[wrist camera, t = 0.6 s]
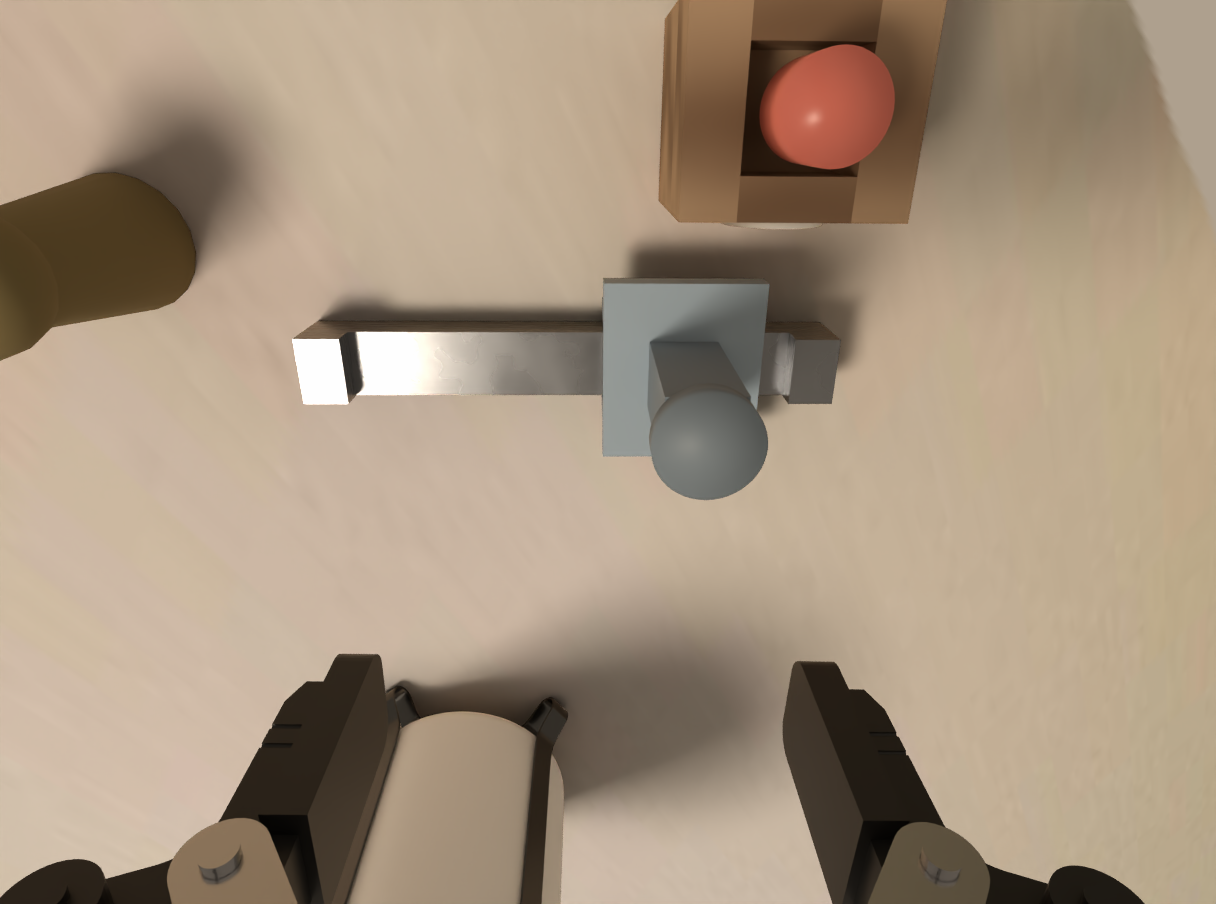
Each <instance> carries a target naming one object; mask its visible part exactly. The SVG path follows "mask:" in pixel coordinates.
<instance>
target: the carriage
mask: <svg viewBox="0 0 1216 904" xmlns="http://www.w3.org/2000/svg"><path fill="white" fill-rule="evenodd" d="M769 285H770V284H769V283H768V282H767V281H765V280H764V279H725V278H603V297H602V317H603V395H602V419H603V436H602V447H603V456H652V461H653V464H654V467H655V470H656V472H657V474H658V475H659V477H660V478H661V480H662V481H663V482H664V483H665V484H666V485H667V486H668V487H669V488H671V489H672V490H673V491H675V492H677V493H678V494H681V495H683V496H685V497H689V498H692V499H698V500H713V499H719V498H723V497H726V496H729V495H731V494H734V493H736V492H737V491H739V490H741V489H742V488H744V487H745V486H746V485H748V484H749V483H750V482H751V481H752V480H753V479H754V478H755V476H756V475H757V474H758V472H759V471H760V469H761V468H762V466H763V464H764V461H765V458H766V455H767V450H768V436H767V431H766V428H765V425H764V423H763V421H762V419H761V417H760V416H759V414H758V412H757V403H758V393H759V384H760V374H761V364H762V354H763V344H764V334H765V324H766V314H767V305H768V295H769Z"/></svg>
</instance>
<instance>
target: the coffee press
mask: <svg viewBox="0 0 1216 904" xmlns="http://www.w3.org/2000/svg"><path fill="white" fill-rule="evenodd" d="M386 702H387V711H388V731H387V738H386V744H385V748H384V751H383V754H382V757H381V760H380V763H379V766H378V769H377V772H376V775H375V778H374V781H373V784H372V786H371V789H370V792H369V795H368V798H367V801H366V804H365V807H364V810H363V813H362V816H361V819H360V822H359V825H358V828H357V831H356V834H355V836H354V839H353V842H352V845H351V848H350V851H349V854H348V857H347V860H346V863H345V866H344V869H343V872H342V875H341V878H340V881H339V884H338V886H337V889H336V892H335V895H334V898H333V901H332V904H560V902H561V874H562V846H563V815H564V786H563V779H562V775H561V771H560V769H559V766H558V764H557V762H556V760H555V758H554V757H553V755H552V750H553V746H554V744H555V741H556V739H557V737H558V735H559V733H560V732H561V730H562V728H563V726H564V724H565V722H566V720H567V718H568V712H567V711H566V710H565V709H564V708H563V707H562V706H561V705H560V704H559V703H557V702H556V701H555V700H554V699H553V698H551V697H549V698H546V699H545V700H543V701H542V702H541V703H540V704H539V706H538V707H537V708H536V710H535V711H534V713H533V714H532V716H531V717H530V718H529V719H528V721H527V722H526V723H525V724H524V725H523V726H522V727H521V726H520V725H518V724H516V723H514V722H511V721H509V720H506V719H504V718H501V717H498V716H494V715H490V714H485V713H478V712H465V711H460V712H446V713H440V714H435V715H431V716H427V717H424V718H420V717H419V715H418V713H417V711H416V709H415V706H414V703H413V701H412V698H411V696H410V694H409V692H408V691H407V690H406V689H405V688H403V687H401V686H397V687H395V688H394V689H392V690H391V691H389V692H388V693H387V694H386ZM400 724H401V726H402V728H401V729H400Z"/></svg>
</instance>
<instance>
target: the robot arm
mask: <svg viewBox="0 0 1216 904" xmlns="http://www.w3.org/2000/svg"><path fill="white" fill-rule="evenodd" d="M387 731H388V711H387V702H386V694H385V685H384V677H383V668H382V661H381V658H380V656H379V655H378V654H339V655H337V656H336V658H335V660H334V661H333V663H332V665H331V668H330V670H329V672H328V674H327V676H326V678H325V680H324V682H312V681H307V682H306V683H305V684H303V685H302V686H301V687H300V688H299V689H298V690H297V691H296V692H295V693H293V694H292V695H291V696H290V697H289V698H288V699H287V700H286V701H285V702H284V704H283V705H282V707H281V709H280V711H279V713H278V715H277V716H276V718H275V720H274V722H273V724H272V729H269V731H268V733H267V735H266V737H265V738H264V740H263V742H262V747H261V748H259V749H258V751H257V753H256V755H255V757H254V759H253V760H252V762H251V764H250V766H249V768H248V770H247V771H246V773H245V775H244V777H243V779H242V781H241V782H240V784H239V786H238V788H237V790H236V792H235V793H234V795H233V797H232V799H231V801H230V803H229V804H228V806H227V808H226V810H225V812H224V814H223V815H222V817H221V819H220V820H219V822H218V823H215V824H213V825H211V826H209V827H207V828H205V829H203V830H201V831H200V832H198V833H197V834H196V835H194V836H193V837H192V838H190V839H189V840H188V841H187V842H186V843H185V844H184V845H183V846H182V847H181V848H180V849H179V851H178V852H177V853H176V855H175V856H174V858H173V859H172V860H169V861H167V862H164V863H161V864H158V865H155V866H151V867H148V868H144V869H141V870H137V871H133V872H130V873H126V874H122V875H119V876H115V877H111V878H108V879H105V876H104V874H103V872H102V870H101V868H100V867H99V866H98V865H97V864H95V863H93V862H91V861H88V860H83V859H73V860H65V861H61V862H57V863H54V864H51V865H48V866H45V867H43V868H41V869H39V870H37V871H35V872H33V873H31V874H30V875H28V876H26V877H25V878H23V879H22V880H20V881H19V882H18V883H16V884H15V885H14V886H12V887H11V888H10V889H9V890H8V891H6V892H5V893H4V894H3V895H2V896H1V897H0V904H332V901H333V898H334V895H335V892H336V889H337V886H338V884H339V881H340V878H341V875H342V872H343V869H344V866H345V863H346V860H347V857H348V854H349V851H350V848H351V845H352V842H353V839H354V836H355V834H356V831H357V828H358V825H359V822H360V819H361V816H362V813H363V810H364V807H365V804H366V801H367V798H368V795H369V792H370V789H371V786H372V784H373V781H374V778H375V775H376V772H377V769H378V766H379V763H380V760H381V757H382V754H383V751H384V748H385V744H386V738H387ZM783 743H784V749H785V754H786V757H787V760H788V764H789V767H790V770H791V773H792V776H793V779H794V783H795V786H796V789H797V792H798V795H799V799H800V802H801V805H802V808H803V811H804V814H805V818H806V821H807V824H808V827H809V830H810V834H811V837H812V840H813V843H814V846H815V849H816V853H817V856H818V859H819V862H820V865H821V868H822V872H823V875H824V878H825V881H826V884H827V888H828V891H829V894H830V897H831V900H832V903H833V904H1144V903H1143V902H1142V900H1141V899H1140V898H1139V897H1138V896H1137V895H1136V894H1134V893H1133V892H1132V891H1131V890H1130V889H1129V888H1127V887H1126V886H1125V885H1123V884H1122V883H1120V882H1119V881H1117V880H1116V879H1114V878H1112V877H1110V876H1109V875H1107V874H1105V873H1102V872H1100V871H1097V870H1095V869H1091V868H1088V867H1083V866H1066V867H1062V868H1060V869H1058V870H1056V871H1055V872H1054V873H1053V875H1052V876H1051V878H1050V880H1049V883H1048V884H1047V883H1043V882H1040V881H1037V880H1033V879H1030V878H1026V877H1023V876H1020V875H1016V874H1013V873H1009V872H1006V871H1003V870H1000V869H997V868H994V867H992V866H990V865H988V864H986V863H985V862H984V860H983V858H982V857H981V855H980V854H979V852H978V851H977V850H976V849H975V848H974V847H973V846H972V845H971V844H970V843H969V842H968V841H967V840H966V839H964V838H963V837H961V836H960V835H959V834H957V833H955V832H954V831H952V830H950V829H948V828H946V827H945V826H944V824H943V822H942V820H941V818H940V816H939V814H938V812H937V811H936V809H935V807H934V805H933V803H932V801H931V799H930V797H929V795H928V793H927V791H926V789H925V787H924V785H923V783H922V781H921V779H920V777H919V775H918V774H917V772H916V770H915V768H914V766H913V764H912V762H911V760H910V758H909V756H908V755H906V750H905V748H904V746H903V744H902V742H901V740H900V738H899V737H897V736H896V731H895V729H894V727H893V725H892V723H891V721H890V719H889V717H888V715H887V713H886V711H885V709H884V708H883V707H882V706H880V705H879V704H878V703H877V702H876V701H875V700H874V699H873V698H872V697H871V696H870V695H869V694H868V693H867V692H866V691H865V690H854V689H848V687H847V684H846V682H845V680H844V678H843V676H842V674H841V672H840V669H839V667H838V666H837V664H836V663H835V662H809V661H797V662H795V663H794V665H793V668H792V673H791V678H790V684H789V690H788V696H787V701H786V707H785V713H784V718H783Z"/></svg>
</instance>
